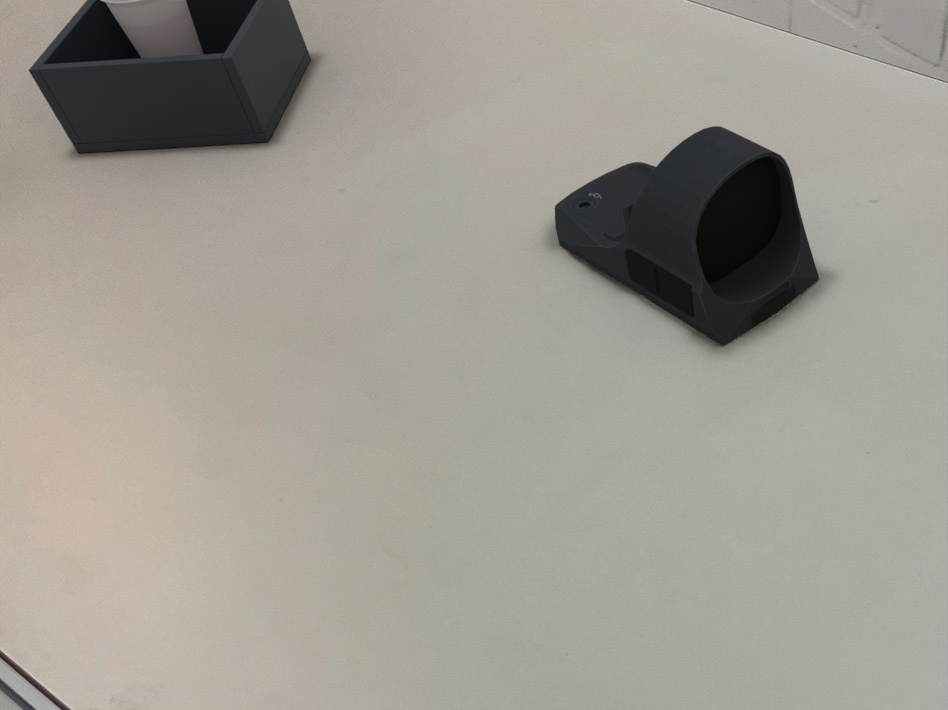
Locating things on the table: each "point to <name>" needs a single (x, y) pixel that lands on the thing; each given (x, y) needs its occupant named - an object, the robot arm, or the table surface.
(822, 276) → the table surface
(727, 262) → the sight
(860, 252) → the table surface
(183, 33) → the smoothie
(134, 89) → the bin
